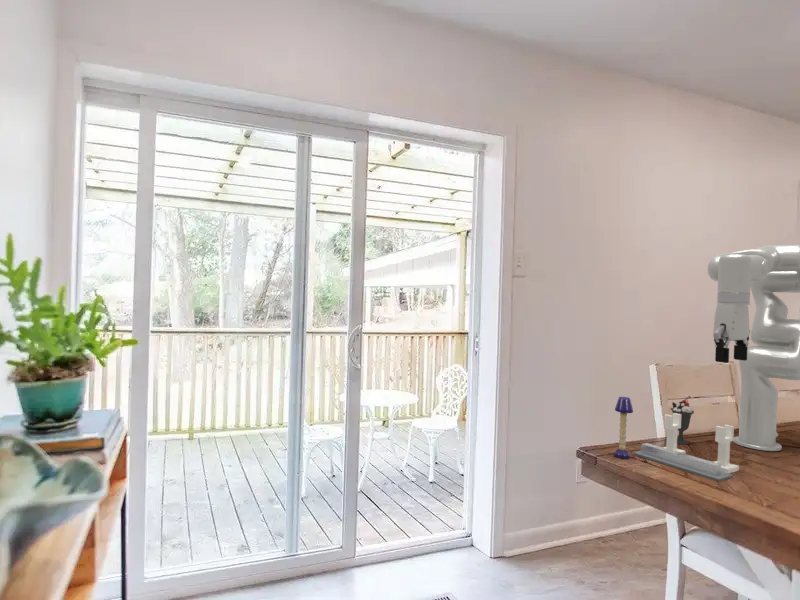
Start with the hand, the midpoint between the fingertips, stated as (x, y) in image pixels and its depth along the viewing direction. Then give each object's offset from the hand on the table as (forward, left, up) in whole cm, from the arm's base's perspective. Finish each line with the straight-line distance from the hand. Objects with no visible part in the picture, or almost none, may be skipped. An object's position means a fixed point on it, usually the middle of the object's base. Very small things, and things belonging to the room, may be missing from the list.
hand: (731, 361), depth 138 cm
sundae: (-10, -18, -29) cm, 35 cm away
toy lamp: (+22, -17, -29) cm, 40 cm away
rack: (+6, -5, -29) cm, 30 cm away
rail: (+14, -5, -27) cm, 31 cm away
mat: (+14, -5, -29) cm, 32 cm away
